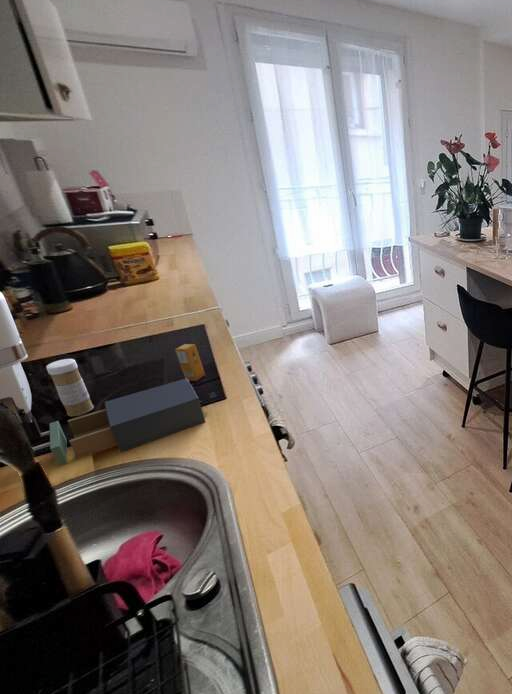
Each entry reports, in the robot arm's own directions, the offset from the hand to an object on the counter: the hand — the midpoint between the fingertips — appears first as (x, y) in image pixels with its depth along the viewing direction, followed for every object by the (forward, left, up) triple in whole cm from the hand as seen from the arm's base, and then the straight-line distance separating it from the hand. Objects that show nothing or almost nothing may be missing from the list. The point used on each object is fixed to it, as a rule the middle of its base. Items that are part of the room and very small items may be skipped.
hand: (28, 439), depth 80 cm
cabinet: (+18, 0, -6) cm, 19 cm away
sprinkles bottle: (+6, +19, -6) cm, 21 cm away
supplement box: (+28, +19, -6) cm, 35 cm away
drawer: (+7, 0, -5) cm, 9 cm away
